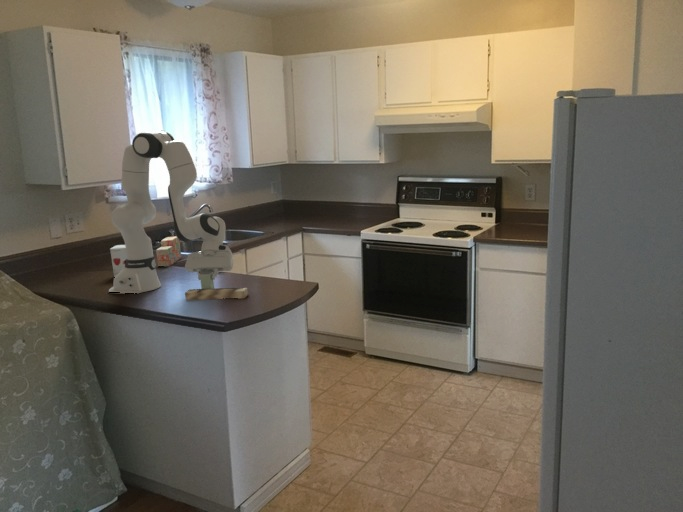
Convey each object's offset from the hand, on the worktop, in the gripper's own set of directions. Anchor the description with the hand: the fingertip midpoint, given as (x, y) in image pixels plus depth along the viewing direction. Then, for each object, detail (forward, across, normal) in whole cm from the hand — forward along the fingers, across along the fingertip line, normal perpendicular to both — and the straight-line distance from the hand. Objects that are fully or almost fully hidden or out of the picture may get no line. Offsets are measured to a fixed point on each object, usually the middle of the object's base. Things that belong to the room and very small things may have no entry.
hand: (206, 279), depth 253 cm
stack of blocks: (-41, -45, +51) cm, 79 cm away
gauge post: (+3, 0, +4) cm, 5 cm away
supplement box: (-22, -56, +31) cm, 68 cm away
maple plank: (+8, +6, +1) cm, 10 cm away
